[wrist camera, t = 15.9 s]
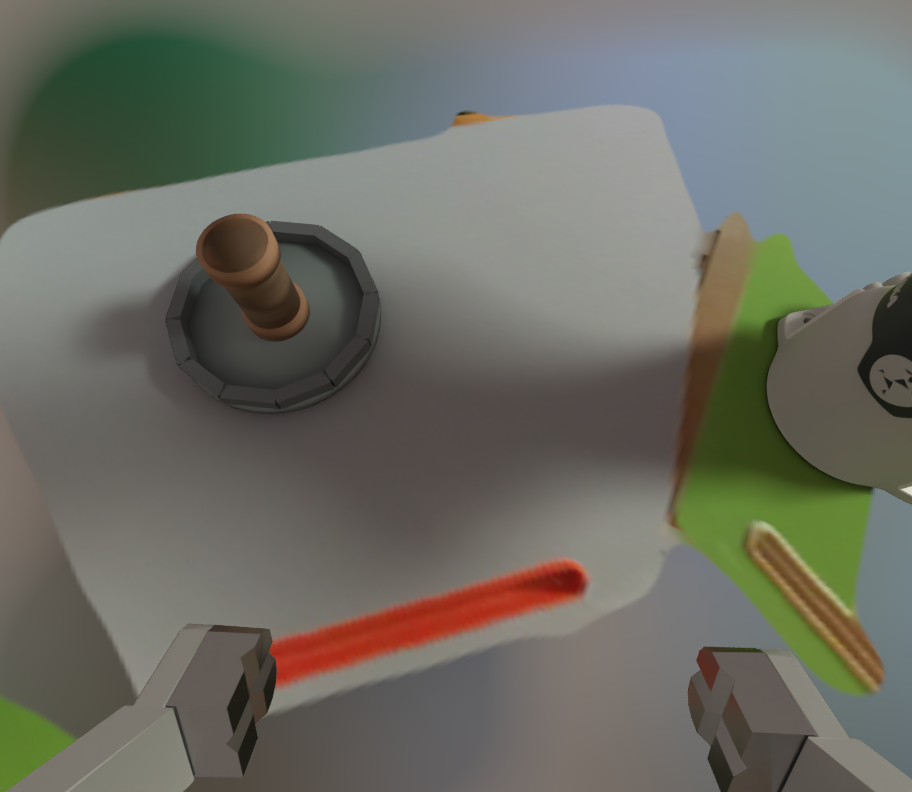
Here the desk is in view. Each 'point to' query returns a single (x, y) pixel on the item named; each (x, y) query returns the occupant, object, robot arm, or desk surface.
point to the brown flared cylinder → (253, 275)
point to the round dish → (290, 361)
